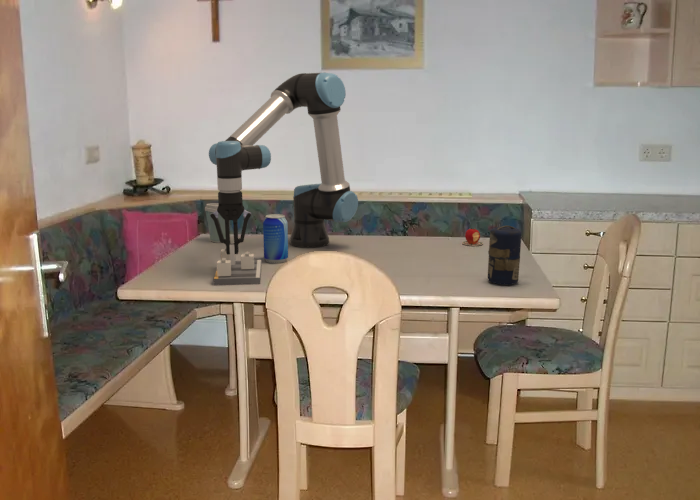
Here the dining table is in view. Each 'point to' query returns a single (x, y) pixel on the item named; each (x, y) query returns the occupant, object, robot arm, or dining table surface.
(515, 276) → the canister
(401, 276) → the dining table surface
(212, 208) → the disposable coffee cup
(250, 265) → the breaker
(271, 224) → the beer can
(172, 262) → the dining table surface
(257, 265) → the panel
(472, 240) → the apple
